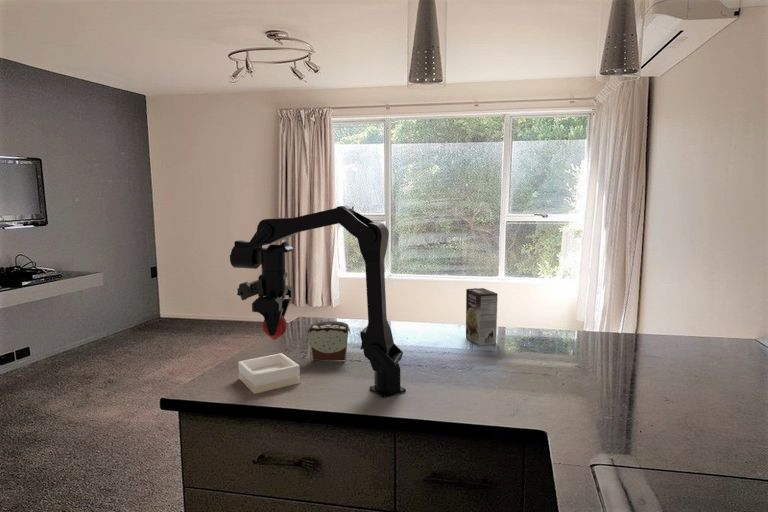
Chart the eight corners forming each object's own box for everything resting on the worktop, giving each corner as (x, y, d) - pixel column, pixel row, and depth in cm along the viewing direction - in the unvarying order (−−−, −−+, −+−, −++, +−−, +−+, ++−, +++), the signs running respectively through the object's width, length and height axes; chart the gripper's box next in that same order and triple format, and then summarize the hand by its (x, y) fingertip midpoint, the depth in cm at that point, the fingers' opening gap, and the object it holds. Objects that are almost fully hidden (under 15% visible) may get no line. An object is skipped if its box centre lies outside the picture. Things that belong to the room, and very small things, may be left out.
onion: (290, 337, 123) (290, 306, 122) (280, 344, 118) (279, 311, 117) (270, 335, 125) (269, 305, 124) (258, 342, 119) (257, 310, 118)
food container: (354, 354, 142) (353, 321, 141) (350, 361, 136) (350, 326, 134) (312, 353, 143) (311, 320, 142) (307, 360, 137) (306, 325, 136)
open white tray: (300, 383, 120) (299, 365, 120) (254, 393, 114) (253, 375, 114) (282, 369, 130) (281, 353, 130) (239, 378, 124) (238, 361, 123)
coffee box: (464, 337, 157) (465, 288, 155) (482, 336, 159) (483, 287, 157) (478, 346, 148) (479, 294, 146) (497, 344, 150) (498, 292, 148)
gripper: (251, 263, 128) (252, 321, 130) (228, 276, 110) (230, 343, 112) (293, 264, 128) (294, 322, 130) (277, 276, 110) (279, 343, 112)
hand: (274, 331), depth 121 cm, fingers closed on onion, 6 cm apart
